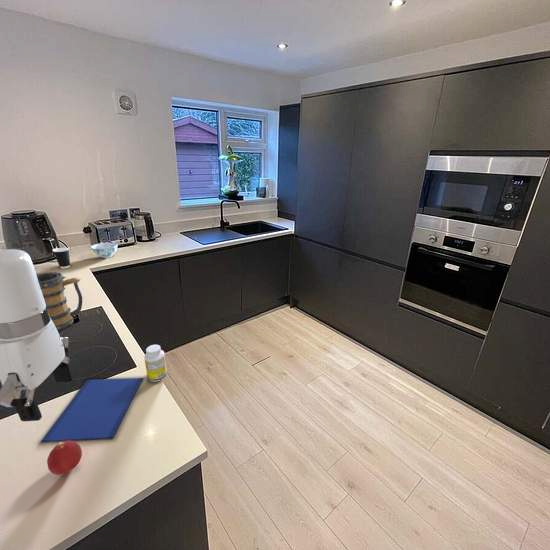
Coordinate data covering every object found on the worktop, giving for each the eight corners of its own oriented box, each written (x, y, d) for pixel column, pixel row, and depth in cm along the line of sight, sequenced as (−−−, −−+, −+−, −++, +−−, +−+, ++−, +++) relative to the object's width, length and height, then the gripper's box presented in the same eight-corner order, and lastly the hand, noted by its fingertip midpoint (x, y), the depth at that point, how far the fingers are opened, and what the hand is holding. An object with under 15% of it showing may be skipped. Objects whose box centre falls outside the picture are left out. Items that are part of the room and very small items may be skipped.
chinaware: (98, 253, 197) (96, 242, 194) (122, 252, 200) (120, 242, 197) (90, 260, 184) (87, 249, 181) (115, 259, 186) (113, 248, 183)
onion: (51, 467, 61) (40, 440, 58) (82, 451, 65) (74, 425, 62) (53, 489, 57) (42, 462, 54) (87, 471, 61) (78, 444, 58)
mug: (37, 322, 114) (22, 275, 107) (87, 310, 124) (76, 266, 117) (37, 337, 105) (21, 287, 98) (91, 322, 115) (80, 276, 108)
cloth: (41, 441, 67) (41, 440, 67) (87, 380, 85) (87, 379, 85) (113, 438, 68) (113, 437, 68) (143, 379, 86) (142, 377, 86)
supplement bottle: (153, 369, 90) (148, 342, 87) (170, 370, 90) (166, 343, 86) (144, 382, 85) (139, 353, 82) (162, 383, 85) (158, 354, 81)
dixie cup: (76, 265, 176) (71, 247, 172) (66, 269, 168) (62, 251, 164) (63, 264, 176) (59, 247, 172) (53, 269, 169) (48, 251, 164)
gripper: (33, 300, 57) (57, 369, 63) (-51, 354, 41) (-9, 440, 47) (73, 298, 58) (92, 368, 64) (5, 351, 42) (40, 437, 48)
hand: (49, 398), depth 56 cm, fingers open, 9 cm apart
